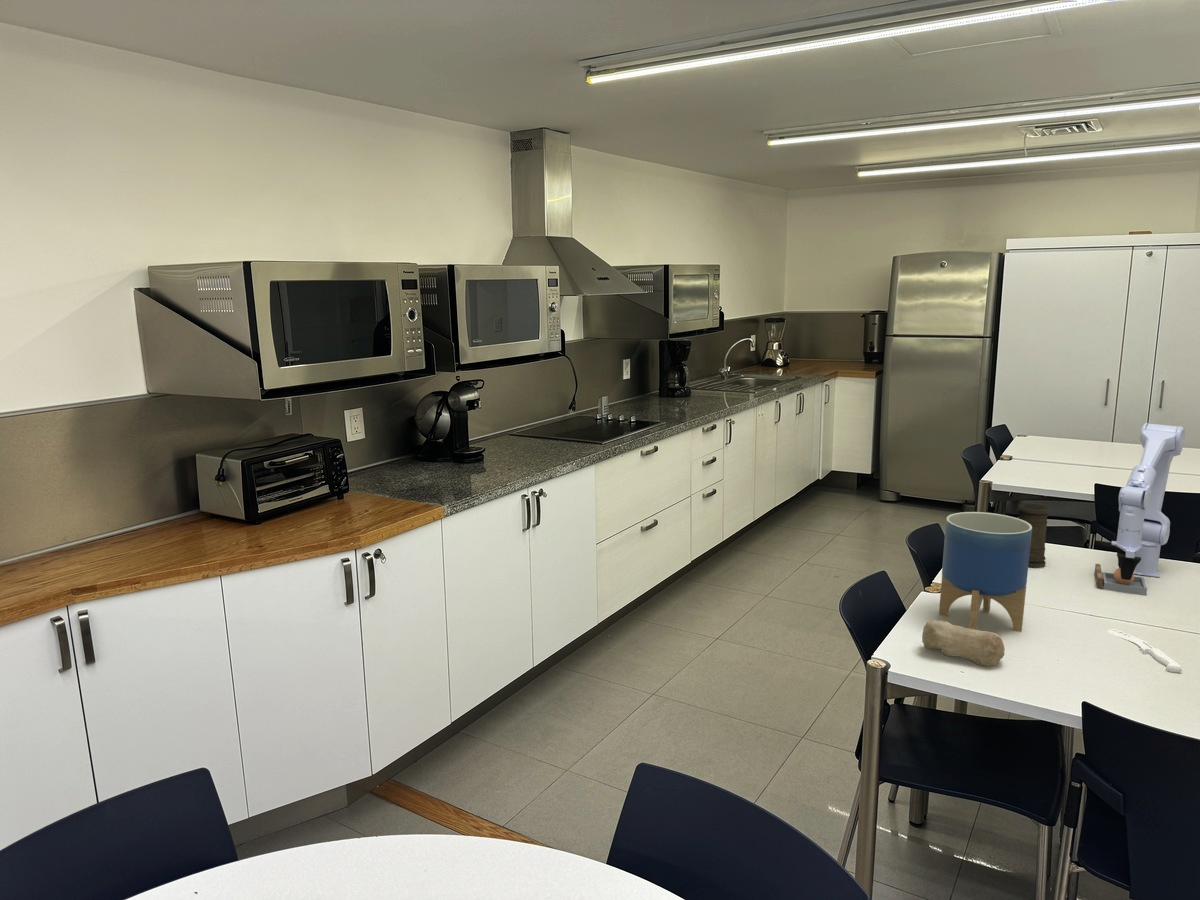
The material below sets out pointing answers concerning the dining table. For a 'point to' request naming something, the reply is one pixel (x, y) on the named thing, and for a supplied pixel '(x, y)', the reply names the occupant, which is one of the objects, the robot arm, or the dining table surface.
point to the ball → (1119, 580)
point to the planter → (986, 563)
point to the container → (1035, 531)
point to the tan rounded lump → (963, 642)
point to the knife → (1150, 651)
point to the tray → (1134, 588)
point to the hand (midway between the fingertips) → (1124, 575)
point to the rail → (1098, 576)
